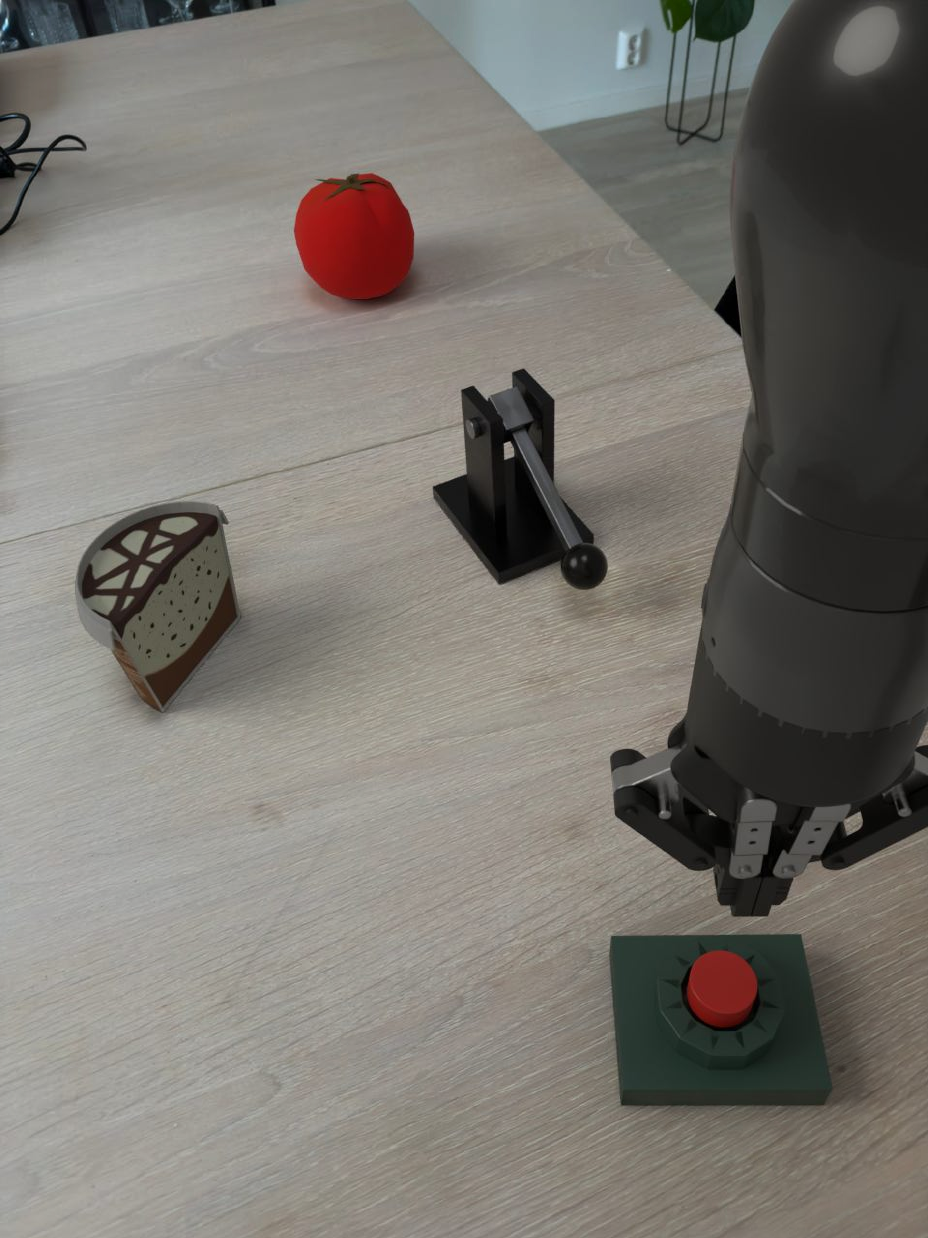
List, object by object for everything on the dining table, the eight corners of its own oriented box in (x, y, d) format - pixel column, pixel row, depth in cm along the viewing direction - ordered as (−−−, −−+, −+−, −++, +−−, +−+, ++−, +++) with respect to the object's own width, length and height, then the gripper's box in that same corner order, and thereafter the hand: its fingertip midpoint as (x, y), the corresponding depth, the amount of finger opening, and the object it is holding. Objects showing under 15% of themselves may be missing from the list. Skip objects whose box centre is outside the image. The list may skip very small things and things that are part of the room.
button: (747, 965, 55) (751, 949, 54) (757, 1028, 53) (762, 1013, 52) (683, 966, 55) (686, 950, 54) (691, 1028, 53) (694, 1013, 52)
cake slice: (183, 580, 81) (147, 476, 74) (252, 604, 79) (222, 500, 72) (76, 700, 74) (24, 598, 67) (149, 729, 72) (103, 628, 65)
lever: (607, 586, 76) (622, 571, 73) (567, 602, 75) (580, 588, 72) (514, 402, 79) (524, 380, 76) (475, 416, 78) (483, 394, 75)
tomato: (392, 326, 103) (379, 214, 94) (283, 309, 106) (261, 198, 98) (438, 262, 110) (430, 153, 102) (335, 248, 113) (319, 140, 105)
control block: (794, 952, 59) (807, 917, 56) (824, 1105, 54) (840, 1076, 51) (609, 954, 60) (612, 919, 57) (620, 1105, 54) (625, 1076, 51)
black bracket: (593, 546, 81) (599, 418, 73) (499, 585, 79) (493, 457, 71) (522, 464, 88) (519, 338, 79) (433, 497, 86) (420, 371, 77)
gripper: (620, 730, 32) (596, 982, 45) (1087, 723, 31) (926, 981, 44) (603, 549, 37) (586, 823, 50) (1004, 540, 36) (881, 819, 49)
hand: (746, 896), depth 47 cm, fingers closed
